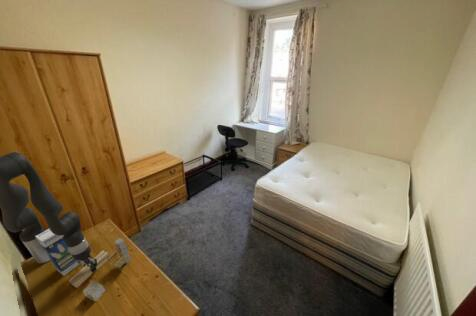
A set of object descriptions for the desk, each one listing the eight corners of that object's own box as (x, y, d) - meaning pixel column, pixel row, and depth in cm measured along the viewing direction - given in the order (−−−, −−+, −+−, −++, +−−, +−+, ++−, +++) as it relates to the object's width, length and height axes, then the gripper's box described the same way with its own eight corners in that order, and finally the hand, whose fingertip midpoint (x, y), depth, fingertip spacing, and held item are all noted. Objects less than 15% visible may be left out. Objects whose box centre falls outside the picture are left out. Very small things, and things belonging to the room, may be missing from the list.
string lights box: (63, 276, 102) (40, 242, 91) (56, 269, 105) (33, 236, 94) (90, 256, 113) (73, 223, 101) (83, 250, 116) (65, 218, 104)
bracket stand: (86, 296, 93) (72, 276, 86) (124, 256, 112) (116, 236, 105) (96, 301, 91) (83, 281, 84) (133, 260, 110) (125, 240, 103)
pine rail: (71, 285, 98) (68, 280, 96) (105, 255, 113) (102, 250, 111) (77, 288, 97) (73, 283, 95) (110, 257, 112) (107, 252, 110)
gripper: (61, 250, 96) (75, 271, 104) (81, 258, 92) (94, 280, 99) (77, 238, 102) (88, 259, 110) (96, 245, 98) (107, 267, 106)
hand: (91, 269), depth 105 cm, fingers closed on pine rail, 4 cm apart
